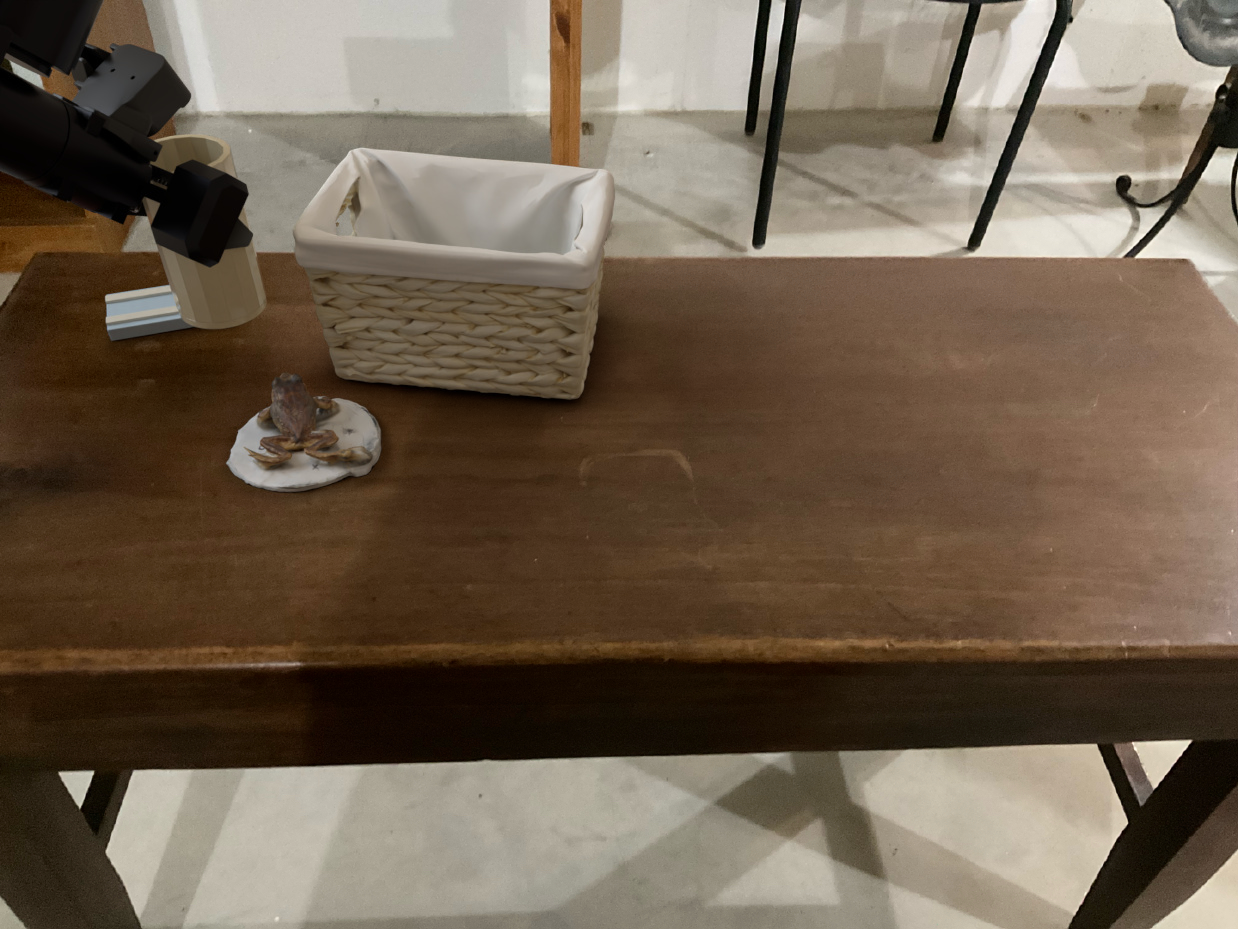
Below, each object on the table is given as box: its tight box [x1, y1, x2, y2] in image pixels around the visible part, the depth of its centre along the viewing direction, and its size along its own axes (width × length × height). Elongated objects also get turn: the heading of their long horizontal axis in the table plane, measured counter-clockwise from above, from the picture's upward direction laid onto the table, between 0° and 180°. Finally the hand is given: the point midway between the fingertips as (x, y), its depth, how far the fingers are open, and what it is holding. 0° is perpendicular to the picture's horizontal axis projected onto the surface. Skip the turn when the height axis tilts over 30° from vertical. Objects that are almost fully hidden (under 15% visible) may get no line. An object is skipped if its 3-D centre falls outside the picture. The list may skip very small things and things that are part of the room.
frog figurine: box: [225, 372, 382, 493], centre depth 75 cm, size 12×12×4 cm
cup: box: [143, 133, 268, 330], centre depth 74 cm, size 7×7×13 cm
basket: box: [292, 147, 616, 401], centre depth 82 cm, size 24×16×15 cm
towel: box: [104, 284, 195, 342], centre depth 88 cm, size 10×6×2 cm, turn 112°
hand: (217, 225), depth 75 cm, fingers closed on cup, 7 cm apart
